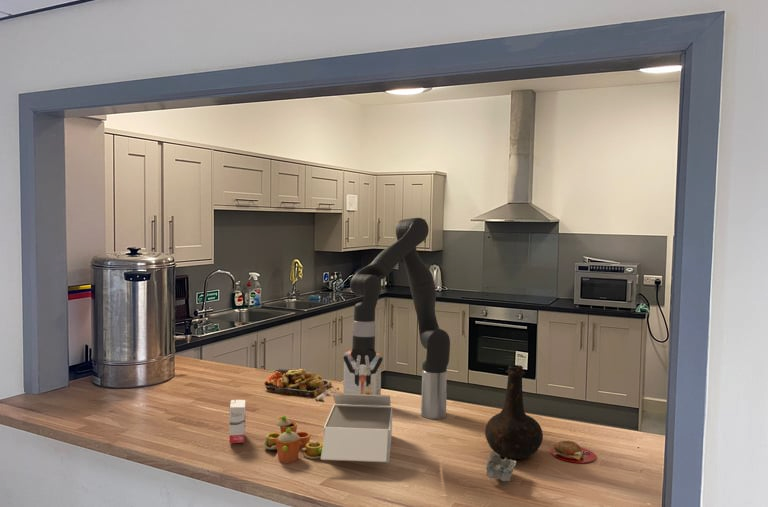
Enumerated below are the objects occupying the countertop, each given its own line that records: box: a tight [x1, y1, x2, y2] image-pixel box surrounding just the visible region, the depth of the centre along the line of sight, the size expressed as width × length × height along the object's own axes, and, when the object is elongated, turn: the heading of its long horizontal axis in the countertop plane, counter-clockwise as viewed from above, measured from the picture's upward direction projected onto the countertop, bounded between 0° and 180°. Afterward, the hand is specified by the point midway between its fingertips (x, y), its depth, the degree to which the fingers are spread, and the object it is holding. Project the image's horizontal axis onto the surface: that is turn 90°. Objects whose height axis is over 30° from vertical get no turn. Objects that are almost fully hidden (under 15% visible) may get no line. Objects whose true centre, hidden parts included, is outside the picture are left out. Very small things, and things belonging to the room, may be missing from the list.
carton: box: [320, 403, 393, 464], centre depth 175 cm, size 20×31×10 cm, turn 177°
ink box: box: [229, 399, 247, 444], centre depth 184 cm, size 8×5×12 cm, turn 13°
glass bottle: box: [484, 364, 544, 460], centre depth 176 cm, size 18×18×28 cm
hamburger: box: [549, 440, 597, 464], centre depth 178 cm, size 14×14×6 cm
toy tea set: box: [263, 415, 323, 464], centre depth 177 cm, size 26×16×10 cm, turn 34°
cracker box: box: [342, 350, 382, 406], centre depth 222 cm, size 14×6×21 cm, turn 68°
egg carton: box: [485, 450, 517, 482], centre depth 160 cm, size 11×8×4 cm
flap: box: [331, 375, 392, 407], centre depth 187 cm, size 19×10×8 cm
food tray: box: [262, 368, 344, 402], centre depth 241 cm, size 35×26×11 cm
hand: (362, 385), depth 186 cm, fingers closed on flap, 2 cm apart
